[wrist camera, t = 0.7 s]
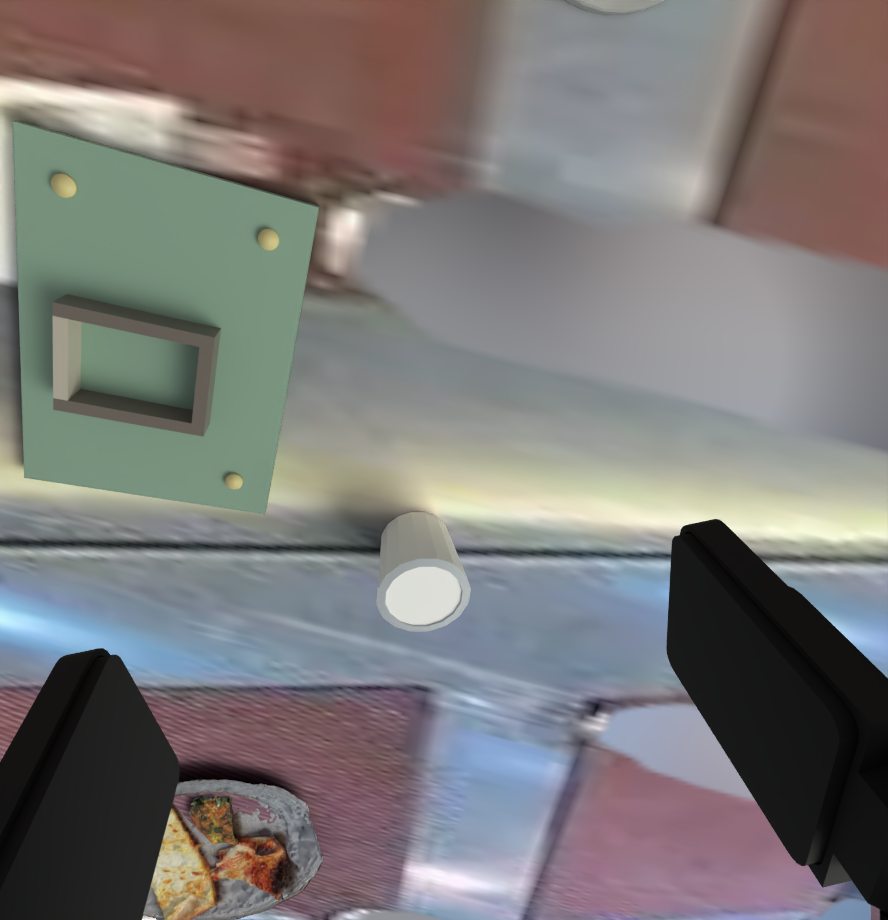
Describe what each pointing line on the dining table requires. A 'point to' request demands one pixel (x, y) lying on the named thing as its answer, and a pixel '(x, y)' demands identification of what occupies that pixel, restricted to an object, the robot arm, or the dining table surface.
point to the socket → (124, 409)
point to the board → (164, 293)
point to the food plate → (232, 854)
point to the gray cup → (420, 574)
